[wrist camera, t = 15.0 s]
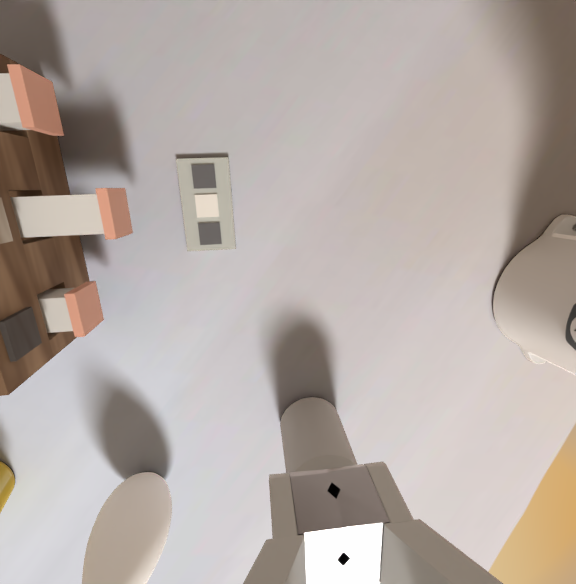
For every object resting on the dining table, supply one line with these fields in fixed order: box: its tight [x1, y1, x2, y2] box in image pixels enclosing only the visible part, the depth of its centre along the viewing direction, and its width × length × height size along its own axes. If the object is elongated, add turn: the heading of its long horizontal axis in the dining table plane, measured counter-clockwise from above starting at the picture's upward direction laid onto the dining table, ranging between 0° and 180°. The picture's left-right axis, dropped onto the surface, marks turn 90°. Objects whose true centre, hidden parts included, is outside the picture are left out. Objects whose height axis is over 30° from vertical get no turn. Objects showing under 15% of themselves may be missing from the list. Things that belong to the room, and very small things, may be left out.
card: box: [176, 157, 236, 251], centre depth 34 cm, size 5×9×1 cm, turn 2°
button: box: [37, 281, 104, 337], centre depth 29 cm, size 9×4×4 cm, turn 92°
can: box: [280, 397, 358, 473], centre depth 37 cm, size 8×8×12 cm
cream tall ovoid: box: [82, 472, 172, 584], centre depth 35 cm, size 8×8×18 cm
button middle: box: [10, 188, 133, 239], centre depth 27 cm, size 9×4×4 cm, turn 92°
